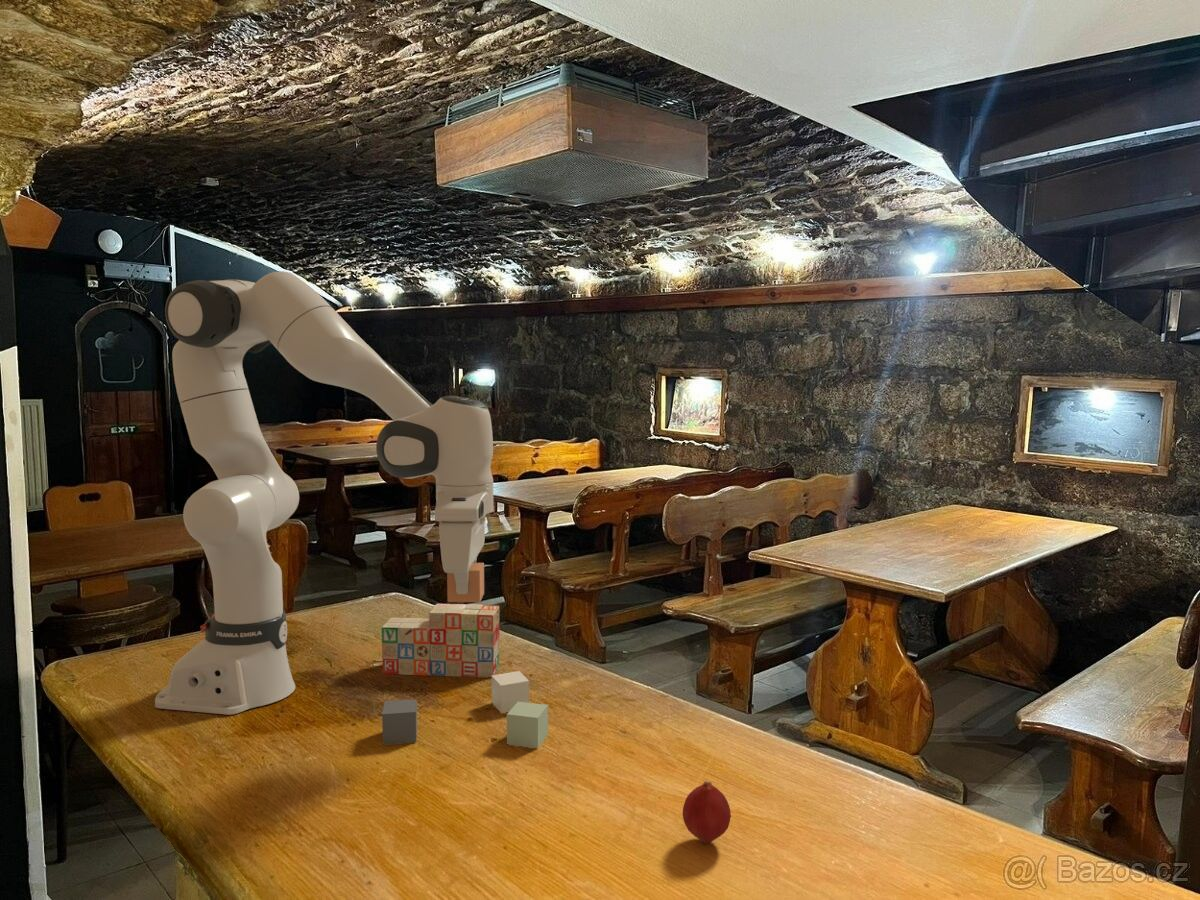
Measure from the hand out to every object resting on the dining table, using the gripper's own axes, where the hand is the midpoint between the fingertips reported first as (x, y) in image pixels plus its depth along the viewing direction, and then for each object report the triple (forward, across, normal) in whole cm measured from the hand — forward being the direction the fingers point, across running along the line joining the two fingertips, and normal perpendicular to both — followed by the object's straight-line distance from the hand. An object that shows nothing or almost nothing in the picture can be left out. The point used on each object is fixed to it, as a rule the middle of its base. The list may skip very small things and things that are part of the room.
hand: (465, 587), depth 132 cm
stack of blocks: (+24, -26, -9) cm, 36 cm away
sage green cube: (+23, +4, +10) cm, 26 cm away
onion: (+23, +32, +34) cm, 52 cm away
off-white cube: (+23, -9, +6) cm, 26 cm away
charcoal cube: (+23, +3, -10) cm, 25 cm away
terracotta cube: (+2, 0, 0) cm, 2 cm away
